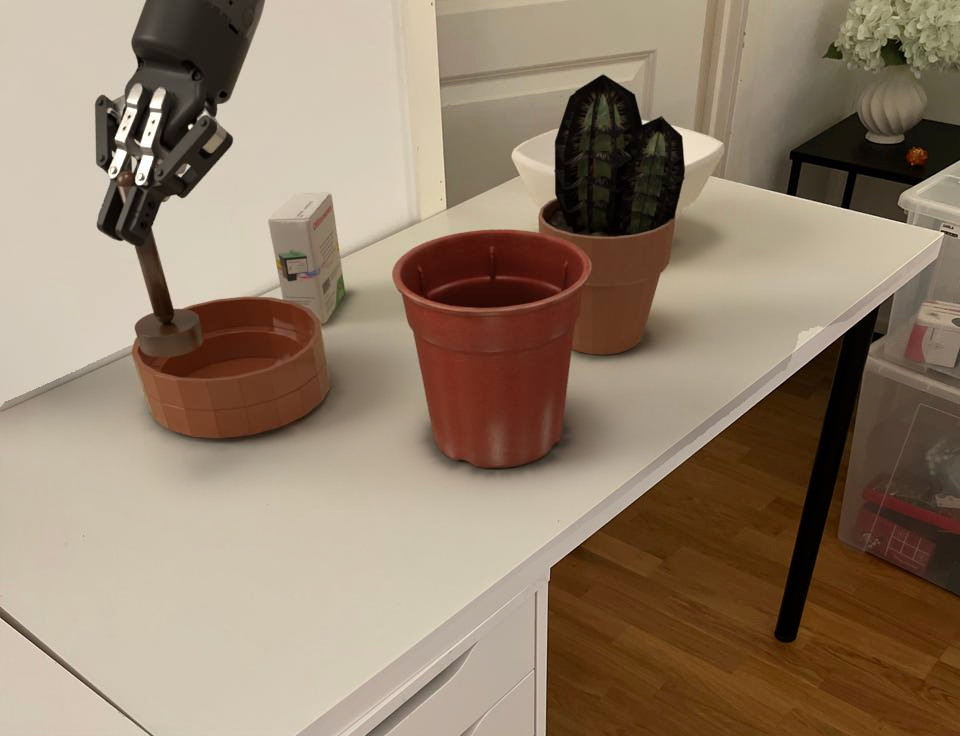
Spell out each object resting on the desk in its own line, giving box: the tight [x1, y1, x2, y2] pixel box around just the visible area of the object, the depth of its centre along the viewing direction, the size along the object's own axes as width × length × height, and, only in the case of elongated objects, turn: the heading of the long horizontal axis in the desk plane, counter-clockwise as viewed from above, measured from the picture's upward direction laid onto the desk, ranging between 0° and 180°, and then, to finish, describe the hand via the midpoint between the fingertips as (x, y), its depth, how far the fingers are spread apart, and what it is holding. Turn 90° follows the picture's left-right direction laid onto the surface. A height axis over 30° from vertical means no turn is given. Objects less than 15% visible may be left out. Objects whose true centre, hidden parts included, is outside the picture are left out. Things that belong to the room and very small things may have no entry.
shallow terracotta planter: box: [130, 296, 331, 439], centre depth 97 cm, size 18×18×6 cm
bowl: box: [511, 119, 725, 223], centre depth 120 cm, size 22×22×12 cm
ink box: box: [267, 192, 346, 325], centre depth 110 cm, size 8×5×12 cm, turn 170°
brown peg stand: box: [117, 171, 204, 357], centre depth 76 cm, size 5×5×13 cm
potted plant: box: [537, 74, 685, 356], centre depth 97 cm, size 14×14×25 cm
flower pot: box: [391, 228, 591, 469], centre depth 86 cm, size 16×16×16 cm
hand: (119, 237), depth 73 cm, fingers closed on brown peg stand
